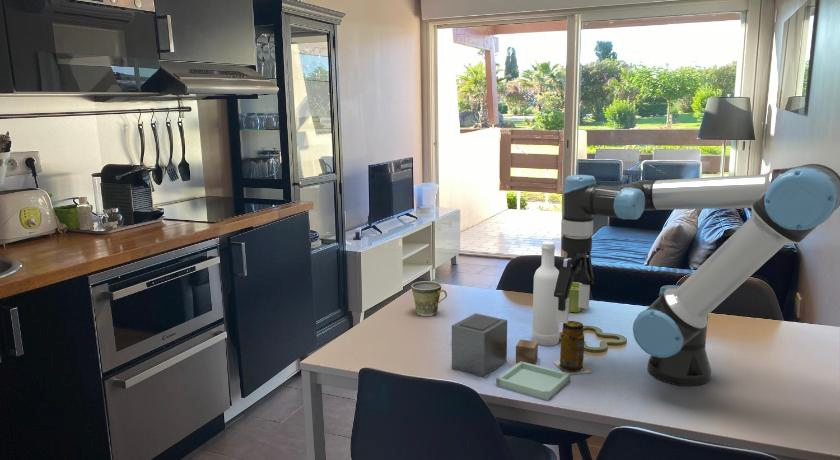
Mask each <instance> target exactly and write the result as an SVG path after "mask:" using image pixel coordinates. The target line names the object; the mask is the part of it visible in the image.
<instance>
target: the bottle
mask: <svg viewBox="0 0 840 460" xmlns="http://www.w3.org/2000/svg"><path fill="white" fill-rule="evenodd" d="M540 248H541V265H540V266H539V267H538V268H537V269H536V270H535V272H534V275H533V295H532V296H533V297H532V302H533V303H532V329H531V336H532V337H531V339H532V340H531V341H536V342H538V346H544V347H547V346H549V347H551V346H555V345H558V343H559V342H560V336H561V334H560V325H561V322H558V321H557V308H558V297H554V292H555V287H556V283H557V279H558V275H559V270H560V269H558V268H557V267H556V266H555V253H556V244H555V242H554V241H550V240H546V241H542V243H541V247H540Z"/></svg>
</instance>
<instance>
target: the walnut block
mask: <svg viewBox="0 0 840 460" xmlns="http://www.w3.org/2000/svg"><path fill="white" fill-rule="evenodd" d="M538 350H539V345H538V342H536V341H532V340H526V339H519V340H518V341H517V343H516V345H515V364H517V363H519V362H520V361H522V362H526V363H530V364H533V365H536V362H537V360H538V358H539V357H538V354H539V351H538Z"/></svg>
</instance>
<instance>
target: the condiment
mask: <svg viewBox="0 0 840 460" xmlns="http://www.w3.org/2000/svg"><path fill="white" fill-rule="evenodd" d="M562 323H563V322H562ZM559 352H560V354H559V360H558V361H557V360H555V361H553V363H554V364H555V365H556V366H557V367H558V368H559V369H560V370H561V371H562V372H564V373H568V374H570V375H578V374H586V373H587V374H589V373H593V371H592V370H591V369H590V368H589V367H588V366H586V365H585V364H584V359H585V356H584V355H585V354H584V353H585V334H584V324H583V323H582V322H579V321H577V320H568V323H563V324H562V332H561V334H560V351H559Z"/></svg>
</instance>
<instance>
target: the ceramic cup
mask: <svg viewBox="0 0 840 460" xmlns="http://www.w3.org/2000/svg"><path fill="white" fill-rule="evenodd" d="M411 291H412V292H411V293H412V296H413V299H414V304H415V305H414V306H415V311H416V314H417V316H419V315H421V316H420V317H423V316H431V317H434V316H436V315H437V313H438V306H439V304H440V303H441V302H442V301H444V300H445V299H446V298H447V296H448V295H447V294H448V293H447V291H446V290H445V289H442V284H441V282H436V281H430V280H428V281H426V280H423V281H416V282H414V283H412V284H411ZM441 293H444V295H445V296H444V297H443V298H442V299H440V296H441ZM435 314H436V315H435ZM433 315H434V316H433Z"/></svg>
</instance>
